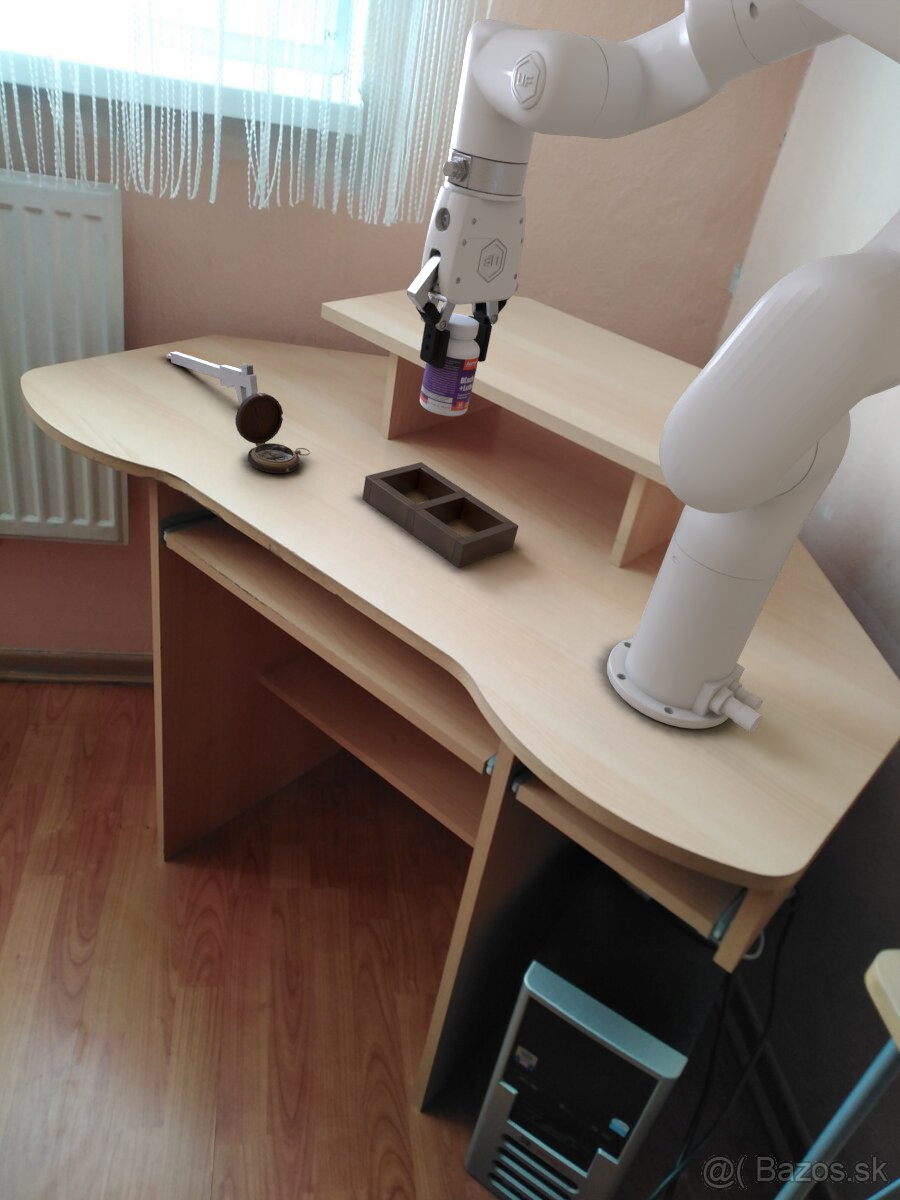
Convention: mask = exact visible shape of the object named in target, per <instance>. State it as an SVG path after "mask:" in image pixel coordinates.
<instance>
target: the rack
mask: <svg viewBox="0 0 900 1200" xmlns="http://www.w3.org/2000/svg"><path fill="white" fill-rule="evenodd" d="M364 478H365V479H364V484H363V491H362V499H363V500H364V501H365V502H367V503H369V504H370V505H371V506H372V507H374V508H375V509H376V510H378V511H379V512H380V513H382V514H384V515H385V516H386V517H387V518H389V519H390V520H392V521H393V522H394V523H396V524H397V525H398V526H400V527H402V528H403V529H404V530H405V531H407V532H408V533H409V534H411V535H412V536H413V537H415V538H416V539H418V540H419V541H421V542H422V543H424V545H426V546H428V547H429V548H430V549H432V550H433V551H435V552H436V553H437V554H438V555H440V556H441V557H443V558H444V559H445V560H447V562H450V563H451V564H453V565H454V566H455V567H456V568H457V569H458V568H462V567H464V566H468V565H470V564H473V563H476V562H478V561H480V560H484V559H486V558H489V557H491V556H495V555H497V554H500V553H502V552H505V551H508V550H511V549H513V548H514V545H515V542H516V537H517V533H518V530H519V525H518V524H517V523H515V522H514V521H512V520H510V519H509V518H508V517H506V516H505V515H503V514H502V513H500V512H499V511H497V510H496V509H494V508H492V507H491V506H489V505H488V504H487V503H484V502H483V501H482V500H480V499H479V498H477V497H475V496H474V495H472V494H471V493H469V492H468V491H466V490H465V489H463V488H461V487H460V486H458V485H457V484H456V483H454V482H452V481H451V480H449V479H448V478H446V477H445V476H443V475H442V474H441V473H439V472H437V471H436V470H434V469H432V467H430V466H428V465H427V464H426V463H424V462H422V461H420V462H416V463H412V464H408V465H403V466H400V467H397V468H392V469H388V470H384V471H380V472H377V473H371V474H369V475H365V477H364ZM416 490H417V491H418V492H420V493H421V494H422V495H424V496H426V497H427V498H429V500H426V501H423V502H420V503H415V502H414V501H413V500H411V499H410V498H408V497H407V496H405V495H404V494H405V493H408V492H413V491H416ZM456 520H461V521H462V522H464V523H465V524H466V525H468V526H470V527H471V528H473V529H474V530H475V531H477V532H475V533H474V532H473V533H472V534H468V535H465V536H464V535H462V534H460V533H459V532H458V531H456V530H455V529H453V528H452V527H450V526H449V525H447V523H451V522H454V521H456Z"/></svg>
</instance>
